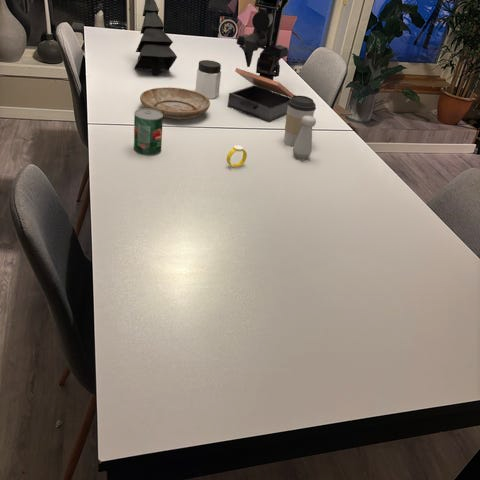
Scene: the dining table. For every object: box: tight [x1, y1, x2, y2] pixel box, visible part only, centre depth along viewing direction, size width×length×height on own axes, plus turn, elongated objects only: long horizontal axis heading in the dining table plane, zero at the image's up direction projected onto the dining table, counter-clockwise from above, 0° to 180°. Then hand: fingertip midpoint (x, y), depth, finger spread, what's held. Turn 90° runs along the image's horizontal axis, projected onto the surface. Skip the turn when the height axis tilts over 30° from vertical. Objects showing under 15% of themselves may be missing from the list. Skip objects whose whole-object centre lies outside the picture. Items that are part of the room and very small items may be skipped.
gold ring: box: [226, 144, 248, 168], centre depth 143 cm, size 6×3×6 cm, turn 123°
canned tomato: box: [133, 107, 164, 157], centre depth 143 cm, size 8×8×11 cm
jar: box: [194, 59, 222, 100], centre depth 187 cm, size 9×8×12 cm
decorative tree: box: [133, 0, 178, 76], centre depth 201 cm, size 15×15×35 cm
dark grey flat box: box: [227, 84, 291, 123], centre depth 184 cm, size 18×18×5 cm
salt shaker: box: [292, 116, 317, 161], centre depth 152 cm, size 6×6×13 cm
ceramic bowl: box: [139, 86, 211, 120], centre depth 171 cm, size 23×24×5 cm
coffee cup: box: [283, 94, 317, 148], centre depth 160 cm, size 9×9×15 cm
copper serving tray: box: [234, 67, 295, 98], centre depth 181 cm, size 16×18×1 cm
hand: (258, 70), depth 181 cm, fingers open, 9 cm apart
